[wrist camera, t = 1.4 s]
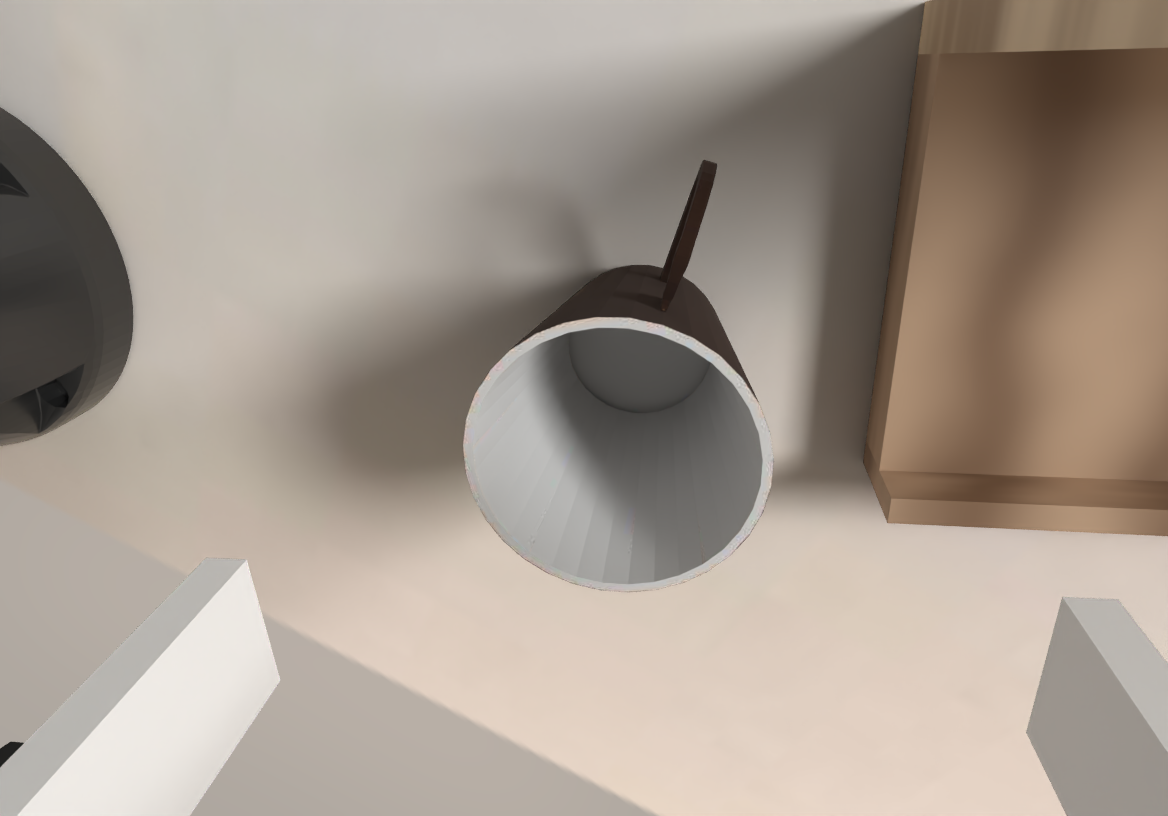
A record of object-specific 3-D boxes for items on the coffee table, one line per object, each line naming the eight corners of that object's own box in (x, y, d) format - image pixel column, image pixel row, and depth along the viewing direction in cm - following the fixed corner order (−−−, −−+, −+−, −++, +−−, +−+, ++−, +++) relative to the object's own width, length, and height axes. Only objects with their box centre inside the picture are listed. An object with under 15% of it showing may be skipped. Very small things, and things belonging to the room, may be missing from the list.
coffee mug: (645, 478, 33) (624, 638, 24) (491, 346, 31) (404, 463, 22) (861, 285, 28) (938, 393, 19) (692, 119, 26) (688, 150, 17)
